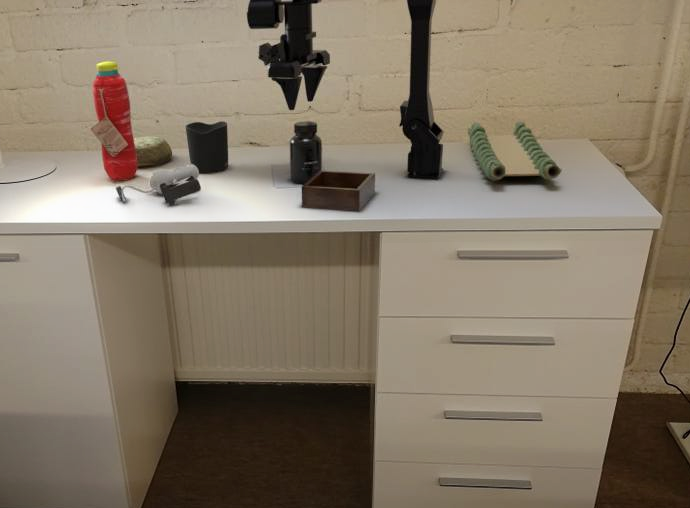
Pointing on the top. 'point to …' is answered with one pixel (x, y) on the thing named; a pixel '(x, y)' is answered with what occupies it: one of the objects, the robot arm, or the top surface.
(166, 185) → the clip-on lamp
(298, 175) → the supplement bottle
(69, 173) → the top surface
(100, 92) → the water bottle
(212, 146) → the pen holder
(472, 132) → the stretcher
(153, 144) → the mossy green stone
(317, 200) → the holder
